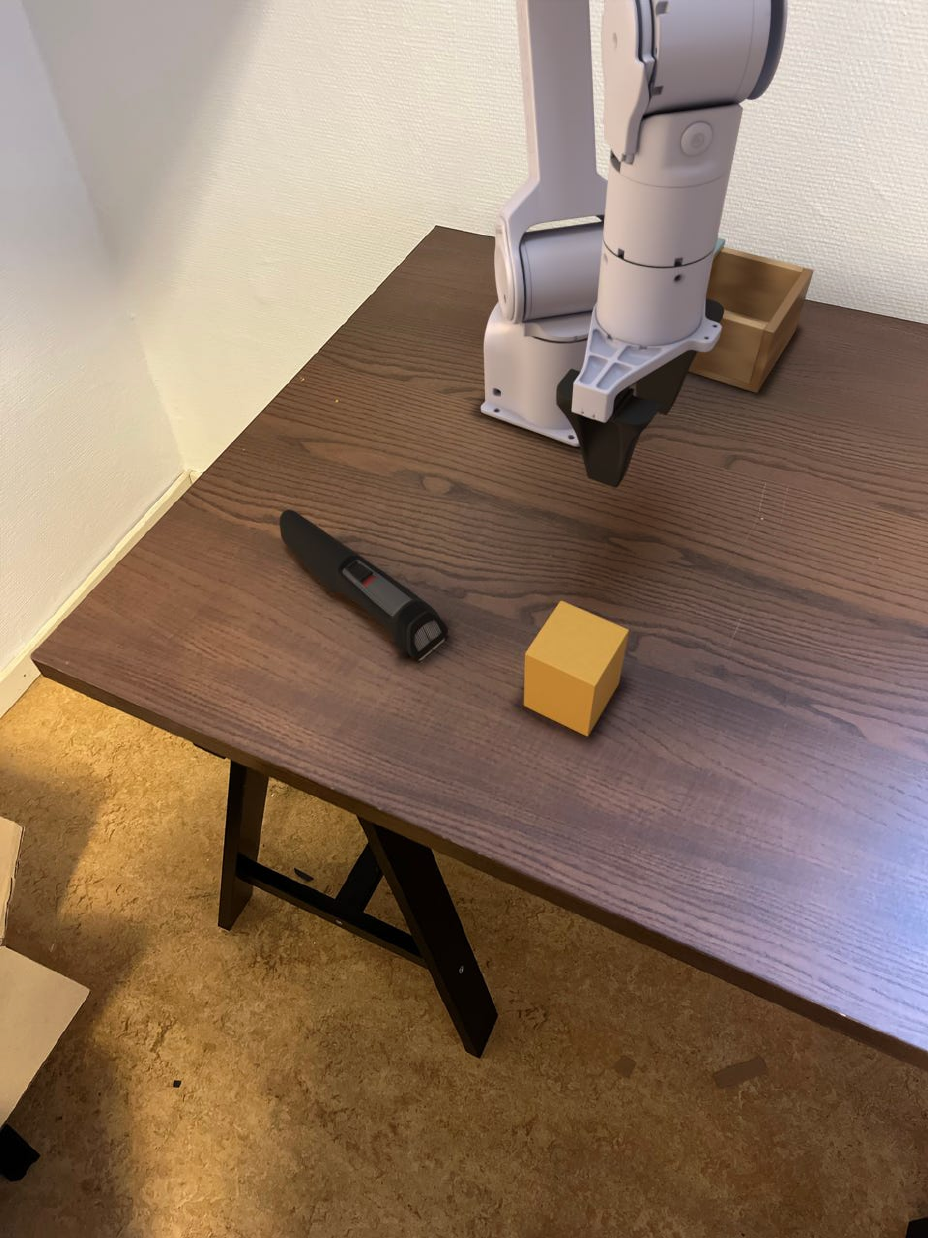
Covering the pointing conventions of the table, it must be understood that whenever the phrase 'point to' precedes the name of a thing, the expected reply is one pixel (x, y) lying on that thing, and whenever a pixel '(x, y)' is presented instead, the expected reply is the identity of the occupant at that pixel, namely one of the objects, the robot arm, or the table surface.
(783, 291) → the box
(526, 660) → the block
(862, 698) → the table surface
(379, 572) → the electric trimmer
